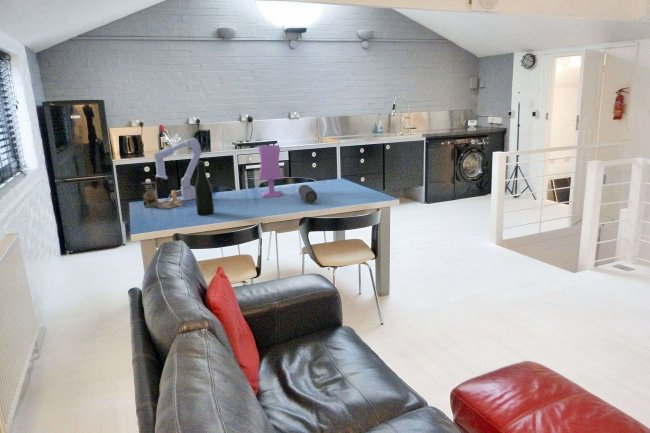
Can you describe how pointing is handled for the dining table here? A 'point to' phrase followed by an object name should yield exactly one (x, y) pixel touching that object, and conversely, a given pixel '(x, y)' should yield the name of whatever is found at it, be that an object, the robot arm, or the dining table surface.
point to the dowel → (174, 196)
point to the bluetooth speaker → (307, 193)
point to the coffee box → (149, 194)
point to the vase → (270, 168)
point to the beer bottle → (203, 192)
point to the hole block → (169, 204)
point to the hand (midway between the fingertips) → (163, 188)
